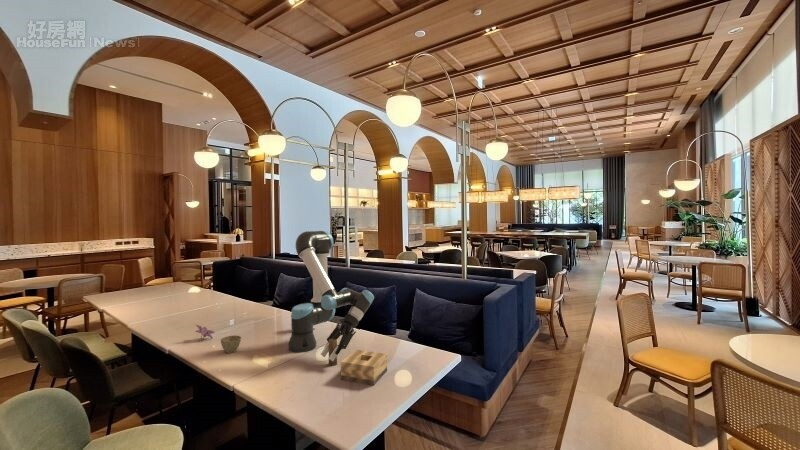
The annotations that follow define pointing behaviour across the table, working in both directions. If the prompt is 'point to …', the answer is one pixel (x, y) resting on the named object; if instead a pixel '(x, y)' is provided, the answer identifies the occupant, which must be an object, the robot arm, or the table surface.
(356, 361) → the socket block
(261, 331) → the table surface
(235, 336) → the flower pot
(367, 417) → the table surface
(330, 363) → the pin
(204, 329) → the lily
